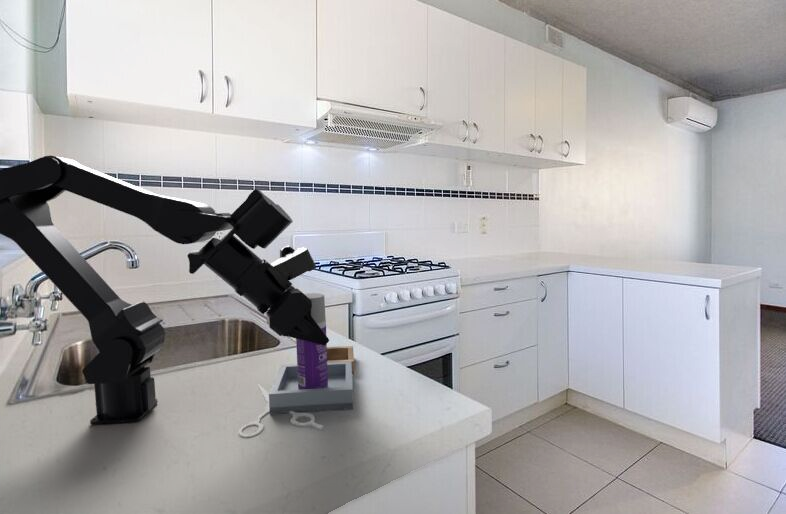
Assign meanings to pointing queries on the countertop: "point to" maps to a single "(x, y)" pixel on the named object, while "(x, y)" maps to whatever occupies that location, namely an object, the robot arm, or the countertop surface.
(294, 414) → the scissors
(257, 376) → the countertop surface
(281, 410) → the tray
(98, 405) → the robot arm
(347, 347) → the holder
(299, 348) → the container
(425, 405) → the countertop surface
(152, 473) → the countertop surface
